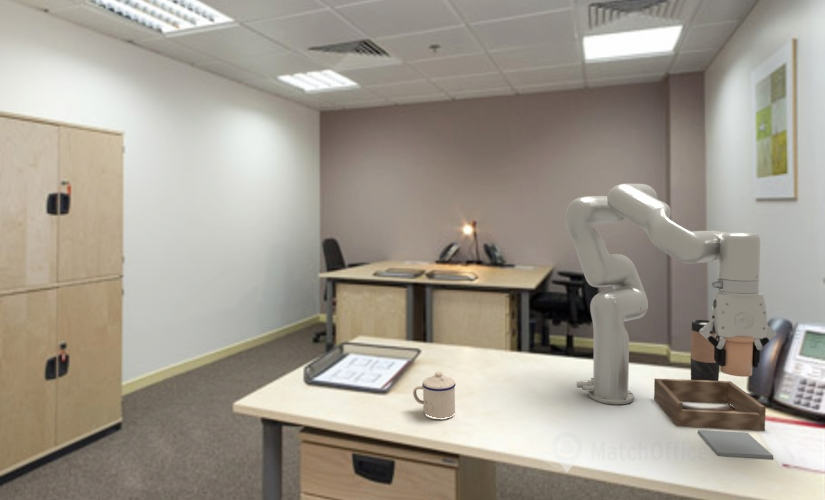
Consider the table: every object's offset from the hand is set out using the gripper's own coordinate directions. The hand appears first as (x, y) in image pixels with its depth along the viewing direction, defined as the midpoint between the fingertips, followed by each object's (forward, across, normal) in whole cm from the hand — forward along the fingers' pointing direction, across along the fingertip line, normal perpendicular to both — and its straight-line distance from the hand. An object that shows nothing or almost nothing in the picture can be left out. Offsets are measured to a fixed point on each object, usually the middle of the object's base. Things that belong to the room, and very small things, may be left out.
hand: (736, 364), depth 109 cm
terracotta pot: (+2, 0, 0) cm, 2 cm away
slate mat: (+19, 0, 0) cm, 19 cm away
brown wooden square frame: (+19, +1, +18) cm, 26 cm away
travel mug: (+19, +9, +39) cm, 44 cm away
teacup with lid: (+19, -71, +9) cm, 74 cm away
